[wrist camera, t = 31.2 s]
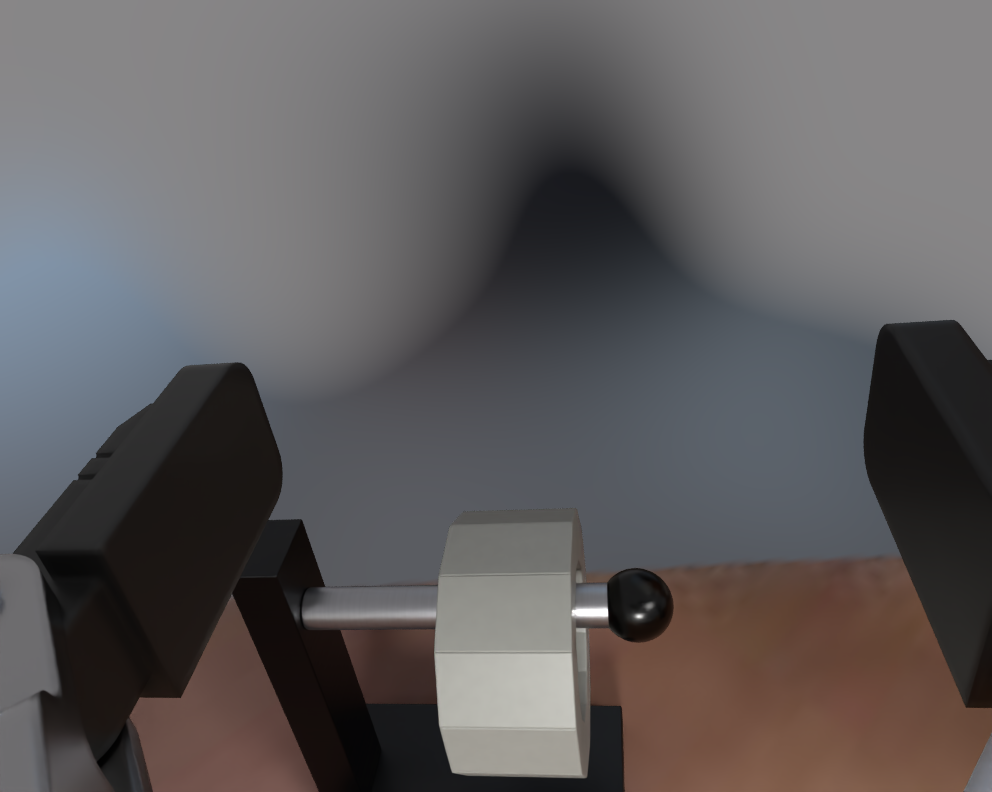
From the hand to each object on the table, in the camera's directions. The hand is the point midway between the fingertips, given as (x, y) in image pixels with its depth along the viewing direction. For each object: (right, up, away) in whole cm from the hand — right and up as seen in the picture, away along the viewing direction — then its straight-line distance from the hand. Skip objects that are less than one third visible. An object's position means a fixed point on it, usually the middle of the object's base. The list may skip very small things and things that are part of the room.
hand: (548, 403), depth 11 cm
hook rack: (-1, -18, +27) cm, 33 cm away
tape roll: (+1, -13, +24) cm, 27 cm away
